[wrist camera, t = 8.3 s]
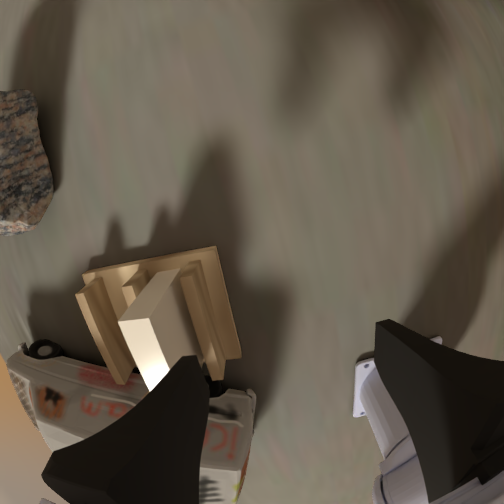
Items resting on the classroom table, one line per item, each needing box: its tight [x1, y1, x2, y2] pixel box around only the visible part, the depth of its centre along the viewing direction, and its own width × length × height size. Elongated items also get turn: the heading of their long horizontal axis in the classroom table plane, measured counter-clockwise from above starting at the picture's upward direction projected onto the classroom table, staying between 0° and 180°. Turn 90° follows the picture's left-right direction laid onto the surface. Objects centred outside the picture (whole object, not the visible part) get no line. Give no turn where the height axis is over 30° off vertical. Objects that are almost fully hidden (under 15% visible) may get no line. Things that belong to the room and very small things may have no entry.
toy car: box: [6, 339, 256, 504], centre depth 20 cm, size 11×25×10 cm, turn 85°
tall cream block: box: [118, 268, 204, 391], centre depth 17 cm, size 2×7×7 cm, turn 11°
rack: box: [75, 246, 241, 385], centre depth 20 cm, size 11×9×4 cm
